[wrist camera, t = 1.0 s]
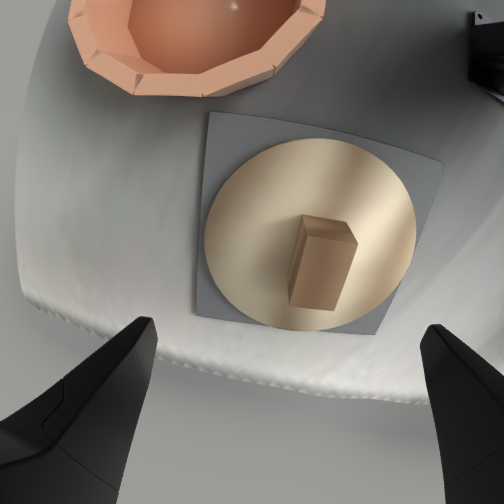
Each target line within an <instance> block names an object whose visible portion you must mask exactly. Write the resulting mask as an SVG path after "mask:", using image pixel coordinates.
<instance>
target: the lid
mask: <svg viewBox="0 0 504 504" xmlns="http://www.w3.org/2000/svg"><path fill="white" fill-rule="evenodd" d="M415 241H416V218H415V213H414V209H413V205H412V202H411V199H410V197H409V194H408V192H407V190H406V189H405V187H404V185H403V183H402V182H401V180H400V179H399V178H398V176H397V175H396V174H395V173H394V171H393V170H392V169H390V168H389V167H388V166H387V165H386V164H385V163H384V162H383V161H381V160H380V159H379V158H377V157H376V156H374V155H373V154H371V153H370V152H368V151H366V150H364V149H362V148H360V147H358V146H356V145H354V144H350V143H347V142H344V141H341V140H336V139H329V138H301V139H294V140H290V141H286V142H282V143H279V144H276V145H274V146H271V147H269V148H267V149H264V150H262V151H261V152H259V153H257V154H256V155H254V156H252V157H251V158H249V159H248V160H247V161H245V162H244V163H243V164H242V165H241V166H239V167H238V168H237V169H236V170H235V171H234V172H233V173H232V175H231V176H230V177H229V178H228V179H227V180H226V182H225V183H224V185H223V186H222V188H221V189H220V191H219V192H218V194H217V196H216V198H215V200H214V202H213V205H212V207H211V209H210V212H209V215H208V219H207V222H206V228H205V235H204V246H205V255H206V261H207V264H208V267H209V271H210V273H211V275H212V277H213V280H214V282H215V284H216V285H217V287H218V288H219V290H220V291H221V293H222V294H223V295H224V296H225V297H226V298H227V300H228V301H229V302H230V303H231V304H232V305H234V306H235V307H236V308H237V309H238V310H240V311H241V312H243V313H244V314H245V315H247V316H249V317H250V318H252V319H254V320H256V321H258V322H261V323H263V324H266V325H268V326H272V327H275V328H279V329H284V330H291V331H318V330H325V329H330V328H334V327H338V326H341V325H344V324H347V323H349V322H352V321H354V320H356V319H358V318H360V317H362V316H364V315H365V314H367V313H368V312H370V311H372V310H373V309H374V308H376V307H377V306H378V305H379V304H381V303H382V302H383V301H384V300H385V299H386V298H387V297H388V296H389V295H390V294H391V293H392V292H393V290H394V289H395V288H396V287H397V285H398V284H399V282H400V281H401V279H402V278H403V276H404V274H405V272H406V271H407V269H408V267H409V264H410V261H411V258H412V256H413V252H414V247H415Z"/></svg>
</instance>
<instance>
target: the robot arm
mask: <svg viewBox="0 0 504 504" xmlns="http://www.w3.org/2000/svg"><path fill="white" fill-rule="evenodd" d="M478 16H479V18H480V19H479V18H478ZM474 76H475V80H474ZM468 78H469V81H470V82H471V83H472V84H474V85H476V86H477V87H479V88H481V89H482V90H484V91H486V92H487V93H489V94H490V95H492V96H494V97H495V98H497V99H498V100H500V101H501V102H503V103H504V21H501V22H494V21H493V20H491V19H490V18H489V17H487V16H486V15H484V14H483V13H481V12H480V11H474V12H473V13H472V31H471V47H470V62H469V71H468ZM157 341H158V337H157V333H156V329H155V325H154V321H153V319H152V318H151V317H144V316H140V317H138V318H137V319H135V320H134V321H133V322H132V323H130V324H129V325H128V326H126V327H125V328H124V329H123V330H121V331H120V332H119V333H118V334H116V335H115V336H114V337H113V338H111V339H110V340H109V341H108V342H106V343H105V344H104V345H103V346H101V347H100V348H99V349H98V350H96V351H95V352H94V353H93V354H91V355H90V356H89V357H88V358H86V359H85V360H84V361H83V362H81V363H80V364H79V365H78V366H76V367H75V368H74V369H73V370H72V371H70V372H69V373H68V374H67V375H65V376H64V377H63V379H60V380H59V381H58V382H57V383H55V384H54V385H53V386H52V387H50V388H49V389H48V390H47V391H45V392H44V393H43V394H41V395H40V396H38V397H37V398H35V399H34V400H33V401H31V402H30V403H28V404H27V405H25V406H24V407H22V408H21V409H19V410H18V411H16V412H15V413H13V414H12V415H10V416H9V417H7V418H5V419H4V420H2V421H0V504H116V502H117V498H118V494H119V492H118V491H119V489H120V485H121V481H122V477H123V473H124V469H125V465H126V462H127V457H128V454H129V451H130V447H131V443H132V440H133V436H134V433H135V429H136V425H137V422H138V419H139V415H140V412H141V409H142V405H143V402H144V399H145V395H146V392H147V389H148V385H149V382H150V377H151V372H152V367H153V361H154V356H155V351H156V347H157ZM420 350H421V356H422V362H423V368H424V374H425V381H426V386H427V391H428V395H429V399H430V404H431V408H432V412H433V417H434V422H435V427H436V432H437V438H438V444H439V450H440V456H441V463H442V470H443V479H444V485H445V486H444V489H445V500H446V504H504V376H503V375H502V374H501V373H500V372H499V371H498V370H496V369H495V368H494V367H493V366H492V365H490V364H489V363H488V362H487V361H486V360H484V359H483V358H482V357H481V356H480V355H478V354H477V353H476V352H475V351H474V350H472V349H471V348H470V347H469V346H467V345H466V344H465V343H464V342H462V341H461V340H460V339H459V338H457V337H456V336H455V335H454V334H452V333H451V332H450V331H449V330H447V329H446V328H445V327H443V326H442V325H441V324H432V325H430V326H429V327H428V328H427V330H426V332H425V334H424V336H423V338H422V340H421V343H420Z"/></svg>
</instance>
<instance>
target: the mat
mask: <svg viewBox="0 0 504 504" xmlns="http://www.w3.org/2000/svg"><path fill="white" fill-rule="evenodd" d="M301 138H329V139H336V140H341V141H344V142H347V143H350V144H354V145H356V146H358V147H360V148H362V149H364V150H366V151H368V152H370V153H371V154H373V155H374V156H376V157H377V158H379V159H380V160H381V161H383V162H384V163H385V164H386V165H387V166H388V167H389V168H390V169H392V170H393V171H394V173H395V174H396V175H397V176H398V178H399V179H400V180H401V182H402V183H403V185H404V187H405V189H406V190H407V192H408V194H409V197H410V199H411V202H412V205H413V209H414V213H415V218H416V241H415V247H414V251H415V248H416V246H417V243H418V241H419V238H420V235H421V233H422V230H423V228H424V225H425V222H426V219H427V216H428V214H429V211H430V208H431V205H432V202H433V199H434V196H435V193H436V189H437V186H438V183H439V180H440V176H441V173H442V169H443V166H444V163H442V162H440V161H437V160H434V159H431V158H429V157H426V156H423V155H420V154H417V153H414V152H411V151H408V150H405V149H401V148H398V147H395V146H392V145H388V144H385V143H381V142H378V141H374V140H371V139H367V138H363V137H359V136H356V135H352V134H348V133H343V132H339V131H335V130H330V129H326V128H321V127H316V126H311V125H306V124H301V123H296V122H290V121H284V120H278V119H272V118H266V117H259V116H251V115H243V114H235V113H226V112H215V111H210V115H209V123H208V133H207V142H206V152H205V163H204V174H203V186H202V199H201V213H200V228H199V245H198V266H197V291H196V316H201V317H207V318H214V319H220V320H227V321H234V322H242V323H249V324H257V325H265V326H268V325H266V324H263V323H261V322H258V321H256V320H254V319H252V318H250V317H249V316H247V315H245V314H244V313H243V312H241V311H240V310H238V309H237V308H236V307H235V306H234V305H232V304H231V303H230V302H229V301H228V300H227V298H226V297H225V296H224V295H223V294H222V293H221V291H220V290H219V288H218V287H217V285H216V284H215V282H214V280H213V277H212V275H211V273H210V271H209V267H208V264H207V261H206V255H205V246H204V235H205V228H206V222H207V219H208V215H209V212H210V209H211V207H212V205H213V202H214V200H215V198H216V196H217V194H218V192H219V191H220V189H221V188H222V186H223V185H224V183H225V182H226V180H227V179H228V178H229V177H230V176H231V175H232V173H233V172H234V171H235V170H236V169H237V168H238V167H239V166H241V165H242V164H243V163H244V162H245V161H247V160H248V159H249V158H251V157H252V156H254V155H256V154H257V153H259V152H261V151H262V150H264V149H267V148H269V147H271V146H274V145H276V144H279V143H282V142H286V141H290V140H294V139H301ZM413 253H414V252H413ZM403 277H404V276H403ZM402 279H403V278H402ZM402 279H401V281H402ZM401 281H400V282H399V284H398V285H397V287H396V288H395V289H394V290H393V292H392V293H391V294H390V295H389V296H388V297H387V298H386V299H385V300H384V301H383V302H382V303H381V304H379V305H378V306H377V307H376V308H374V309H373V310H372V311H370V312H368V313H367V314H365V315H364V316H362V317H360V318H358V319H356V320H354V321H352V322H349V323H347V324H344V325H341V326H338V327H334V328H330V329H325V330H318V331H323V332H335V333H348V334H363V335H375V333H376V332H377V330H378V328H379V326H380V324H381V322H382V320H383V318H384V316H385V314H386V312H387V310H388V308H389V306H390V304H391V302H392V300H393V298H394V296H395V294H396V292H397V290H398V288H399V285H400V283H401Z"/></svg>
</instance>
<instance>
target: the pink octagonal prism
mask: <svg viewBox="0 0 504 504" xmlns="http://www.w3.org/2000/svg"><path fill="white" fill-rule="evenodd" d="M325 4H326V0H72V1H71V6H70V10H69V15H68V20H69V21H68V24H69V26H70V29H71V32H72V34H73V37H74V40H75V42H76V45H77V47H78V50H79V52H80V55H81V57H82V60H83V62H84V65H85V66H86V67H87V68H89V69H90V70H92V71H94V72H96V73H97V74H99V75H101V76H102V77H104V78H106V79H107V80H109V81H111V82H112V83H114V84H115V85H117V86H119V87H120V88H122V89H124V90H125V91H127V92H128V93H130V94H132V95H171V96H194V97H222V96H226V95H228V94H231V93H233V92H235V91H238V90H240V89H243V88H246V87H248V86H251V85H253V84H256V83H259V82H262V81H264V80H267V79H270V78H272V76H274V75H275V74H276V73H277V72H278V71H279V70H280V69H281V67H282V66H283V65H284V64H285V63H286V62H287V61H288V60H289V59H290V58H291V56H292V55H293V54H294V53H295V52H296V51H297V50H298V49H299V48H300V47H301V46H302V45H303V44H304V43H305V41H306V40H307V39H308V37H309V36H310V35H311V33H312V32H313V31H314V29H315V28H316V27H317V25H318V24H319V23H320V21H321V20H322V19H323V17H324V11H325Z"/></svg>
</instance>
